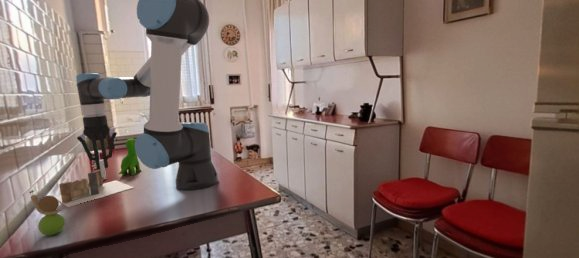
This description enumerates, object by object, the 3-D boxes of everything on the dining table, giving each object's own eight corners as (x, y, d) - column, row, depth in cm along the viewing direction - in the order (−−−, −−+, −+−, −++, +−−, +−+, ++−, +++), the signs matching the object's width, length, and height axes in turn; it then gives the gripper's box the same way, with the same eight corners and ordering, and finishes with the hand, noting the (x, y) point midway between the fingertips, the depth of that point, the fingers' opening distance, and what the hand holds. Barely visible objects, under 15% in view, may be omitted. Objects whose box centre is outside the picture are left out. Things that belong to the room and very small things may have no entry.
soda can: (110, 178, 127) (106, 150, 125) (98, 182, 122) (94, 152, 120) (100, 177, 129) (96, 149, 127) (89, 181, 124) (84, 152, 122)
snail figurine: (45, 230, 81) (37, 187, 79) (71, 228, 82) (63, 185, 80) (30, 240, 76) (21, 194, 74) (57, 238, 76) (49, 192, 74)
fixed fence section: (97, 192, 109) (94, 171, 108) (100, 194, 108) (97, 172, 106) (61, 202, 101) (57, 180, 100) (63, 204, 99) (59, 181, 98)
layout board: (134, 188, 112) (133, 187, 112) (67, 207, 97) (67, 206, 97) (116, 181, 122) (116, 180, 122) (53, 197, 107) (53, 196, 107)
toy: (146, 169, 139) (142, 136, 136) (127, 178, 125) (122, 142, 123) (133, 169, 139) (129, 137, 137) (113, 179, 126) (108, 143, 123)
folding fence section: (100, 190, 110) (97, 175, 109) (91, 191, 109) (89, 176, 108) (103, 183, 118) (101, 169, 117) (95, 184, 117) (93, 170, 116)
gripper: (114, 113, 119) (123, 171, 123) (74, 116, 113) (84, 177, 117) (114, 114, 113) (123, 175, 117) (72, 118, 107) (83, 182, 111)
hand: (104, 176), depth 117 cm, fingers closed
